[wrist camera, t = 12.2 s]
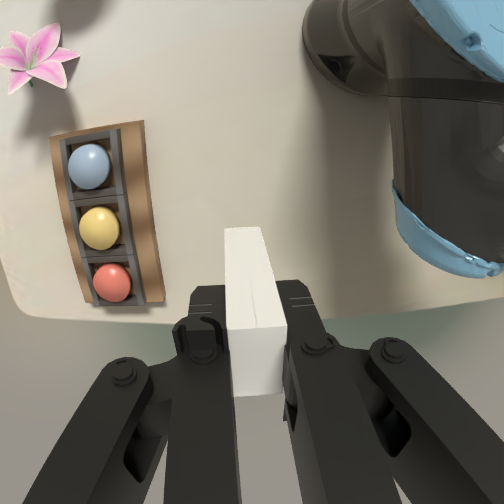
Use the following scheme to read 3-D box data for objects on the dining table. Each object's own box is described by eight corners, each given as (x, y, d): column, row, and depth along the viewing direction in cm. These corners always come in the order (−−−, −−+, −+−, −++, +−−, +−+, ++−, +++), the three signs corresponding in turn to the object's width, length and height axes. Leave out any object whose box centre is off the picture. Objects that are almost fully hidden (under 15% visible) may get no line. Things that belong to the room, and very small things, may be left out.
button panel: (56, 135, 32) (43, 139, 29) (143, 120, 32) (135, 121, 29) (89, 295, 42) (82, 308, 39) (165, 293, 43) (161, 308, 40)
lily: (87, 104, 32) (80, 66, 23) (3, 134, 27) (-24, 106, 18) (79, 35, 30) (76, -9, 21) (3, 61, 25) (-16, 23, 17)
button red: (92, 263, 37) (88, 269, 36) (127, 261, 37) (124, 267, 36) (101, 295, 39) (98, 302, 38) (135, 295, 39) (132, 301, 38)
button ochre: (80, 208, 34) (75, 212, 32) (117, 204, 34) (113, 208, 32) (88, 245, 36) (84, 251, 34) (124, 243, 36) (120, 248, 35)
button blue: (71, 147, 30) (65, 149, 29) (109, 140, 31) (104, 142, 29) (77, 188, 32) (71, 191, 31) (114, 183, 33) (109, 186, 31)
